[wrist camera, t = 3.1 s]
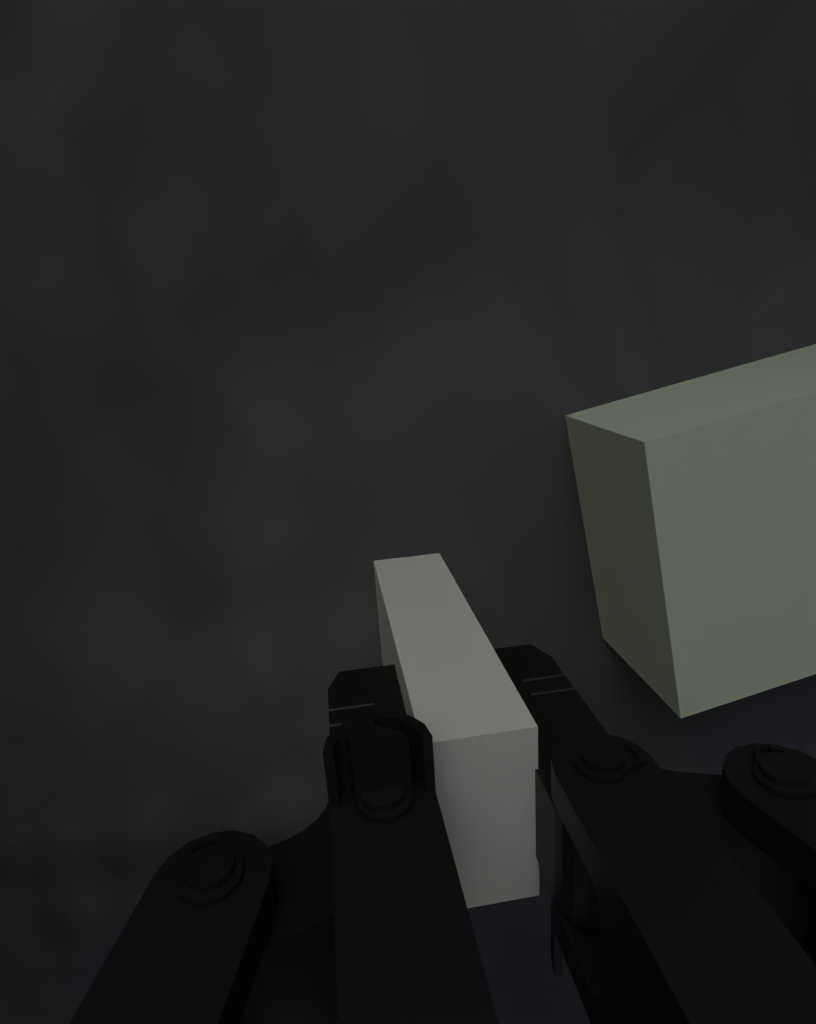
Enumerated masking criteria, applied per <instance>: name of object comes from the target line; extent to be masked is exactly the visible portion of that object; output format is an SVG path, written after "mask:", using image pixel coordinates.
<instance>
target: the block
mask: <svg viewBox="0 0 816 1024" xmlns="http://www.w3.org/2000/svg"><path fill="white" fill-rule="evenodd" d="M565 418H566V424H567V430H568V436H569V441H570V447H571V453H572V459H573V465H574V471H575V477H576V482H577V488H578V494H579V500H580V506H581V512H582V518H583V524H584V529H585V535H586V541H587V547H588V553H589V559H590V565H591V571H592V576H593V582H594V588H595V594H596V600H597V606H598V612H599V618H600V623H601V629H602V635H603V638H604V640H605V641H606V642H607V643H608V644H609V645H610V646H611V647H612V648H613V649H614V650H615V651H616V652H617V653H618V654H619V655H620V656H621V657H622V658H623V659H624V660H625V661H626V662H627V663H628V664H629V665H630V666H631V667H632V669H633V670H634V671H635V672H636V673H637V674H638V675H639V676H640V677H641V678H642V679H643V680H644V681H645V682H646V683H647V684H648V685H649V686H650V687H651V688H652V689H653V690H654V691H655V692H656V693H657V694H658V695H659V696H660V698H661V699H662V700H663V701H664V702H665V703H666V704H667V705H668V706H669V707H670V708H671V709H672V710H673V711H674V712H675V713H676V714H677V715H678V716H679V717H680V718H684V717H687V716H690V715H693V714H696V713H699V712H702V711H705V710H708V709H711V708H714V707H717V706H721V705H724V704H727V703H730V702H733V701H736V700H739V699H742V698H745V697H748V696H751V695H754V694H757V693H760V692H763V691H766V690H769V689H772V688H775V687H778V686H781V685H784V684H787V683H790V682H793V681H796V680H799V679H802V678H805V677H808V676H811V675H815V674H816V344H814V345H811V346H807V347H804V348H800V349H797V350H793V351H790V352H786V353H783V354H779V355H776V356H772V357H769V358H765V359H762V360H758V361H755V362H751V363H748V364H744V365H741V366H737V367H734V368H730V369H727V370H723V371H720V372H716V373H713V374H709V375H706V376H702V377H699V378H695V379H692V380H688V381H685V382H681V383H678V384H674V385H671V386H667V387H664V388H660V389H657V390H653V391H650V392H646V393H643V394H639V395H636V396H632V397H629V398H625V399H622V400H618V401H615V402H611V403H608V404H604V405H601V406H597V407H594V408H590V409H586V410H583V411H579V412H576V413H572V414H569V415H565Z"/></svg>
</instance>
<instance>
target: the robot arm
mask: <svg viewBox="0 0 816 1024" xmlns="http://www.w3.org/2000/svg"><path fill="white" fill-rule="evenodd" d="M374 572H375V583H376V595H377V606H378V618H379V629H380V641H381V652H382V663H383V666H379V667H372V668H364V669H357V670H349V671H342V672H339V673H338V674H337V676H336V678H335V679H334V681H333V682H332V684H331V685H330V687H329V689H328V700H329V724H330V735H329V736H328V737H327V739H326V742H325V746H324V750H323V757H324V765H325V774H326V782H327V790H328V798H329V802H328V805H327V807H326V809H325V810H324V811H323V813H322V814H321V815H320V816H319V818H318V819H317V820H316V821H315V822H314V823H312V824H311V825H310V826H309V827H307V828H306V829H305V830H304V831H302V832H300V833H298V834H296V835H294V836H293V837H291V838H289V839H287V840H284V841H282V842H280V843H277V844H275V845H273V846H271V847H268V848H267V845H266V844H265V843H264V842H262V841H261V840H260V839H258V838H257V837H256V836H254V835H253V834H249V833H244V832H239V831H234V830H232V831H224V832H217V833H210V834H208V835H206V836H203V837H201V838H198V839H196V840H193V841H191V842H188V843H187V844H186V845H184V846H183V847H182V848H180V849H179V850H178V851H176V852H175V853H173V854H172V855H171V856H169V857H168V858H167V860H166V861H165V862H164V863H163V865H162V866H161V867H160V868H159V870H158V871H157V872H156V873H155V875H154V876H153V878H152V880H151V881H150V883H149V885H148V887H147V888H146V890H145V892H144V894H143V895H142V897H141V899H140V901H139V902H138V904H137V906H136V908H135V909H134V911H133V913H132V915H131V916H130V918H129V920H128V922H127V923H126V925H125V927H124V929H123V931H122V932H121V934H120V936H119V938H118V939H117V941H116V943H115V945H114V946H113V948H112V950H111V952H110V953H109V955H108V957H107V959H106V960H105V962H104V964H103V966H102V967H101V969H100V971H99V973H98V974H97V976H96V978H95V980H94V981H93V983H92V985H91V987H90V988H89V990H88V992H87V994H86V996H85V997H84V999H83V1001H82V1003H81V1004H80V1006H79V1008H78V1010H77V1011H76V1013H75V1015H74V1017H73V1018H72V1020H71V1022H70V1024H335V1023H337V1022H338V1024H498V1020H497V1016H496V1013H495V1009H494V1005H493V1001H492V998H491V994H490V990H489V987H488V983H487V979H486V976H485V972H484V968H483V964H482V961H481V957H480V953H479V950H478V946H477V942H476V939H475V935H474V931H473V927H472V924H471V920H470V916H469V913H468V909H467V908H472V907H477V906H483V905H488V904H494V903H499V902H505V901H510V900H516V899H521V898H527V897H532V896H538V895H539V865H540V868H541V870H542V872H543V875H544V877H545V879H546V882H547V884H548V886H549V889H550V891H551V960H552V966H553V972H554V975H560V974H562V952H563V955H564V957H565V960H566V962H567V965H568V967H569V970H570V972H571V975H572V977H573V980H574V983H575V985H576V988H577V990H578V993H579V995H580V998H581V1000H582V1003H583V1005H584V1008H585V1010H586V1013H587V1015H588V1018H589V1020H590V1023H591V1024H816V759H815V758H813V757H811V756H809V755H807V754H805V753H803V752H800V751H797V750H794V749H790V748H786V747H783V746H779V745H772V744H758V743H754V744H749V745H744V746H738V747H736V748H735V749H733V750H732V751H731V752H729V753H728V754H726V757H725V760H724V763H723V768H722V775H712V774H699V773H687V772H677V771H670V770H664V769H660V767H659V766H658V765H657V763H656V762H655V761H654V760H653V758H652V757H651V756H650V755H648V754H647V753H646V752H645V751H644V750H643V749H642V748H640V747H639V746H638V745H636V744H634V743H632V742H630V741H627V740H625V739H623V738H621V737H616V736H612V735H608V734H607V732H606V731H605V729H604V728H603V727H602V725H601V724H600V723H599V721H598V720H597V719H596V717H595V716H594V714H593V713H592V712H591V710H590V709H589V708H588V706H587V705H586V703H585V702H584V701H583V699H582V698H581V697H580V695H579V694H578V693H577V691H576V690H573V686H572V684H571V683H570V682H569V680H568V679H567V678H566V676H563V672H562V671H561V669H560V668H559V667H558V665H557V664H556V663H555V661H554V660H553V658H552V657H551V656H549V655H548V654H546V653H544V652H542V651H541V650H539V649H537V648H536V647H534V646H532V645H531V644H529V645H521V646H514V647H506V648H499V649H493V647H492V645H491V643H490V642H489V640H488V638H487V636H486V635H485V633H484V631H483V629H482V628H481V626H480V624H479V622H478V620H477V619H476V617H475V615H474V613H473V612H472V610H471V608H470V606H469V605H468V603H467V601H466V599H465V598H464V596H463V594H462V592H461V591H460V589H459V587H458V585H457V584H456V582H455V580H454V578H453V577H452V575H451V573H450V571H449V569H448V568H447V566H446V564H445V562H444V561H443V559H442V557H441V555H440V554H439V553H438V554H429V555H421V556H412V557H403V558H394V559H385V560H376V561H374Z"/></svg>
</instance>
